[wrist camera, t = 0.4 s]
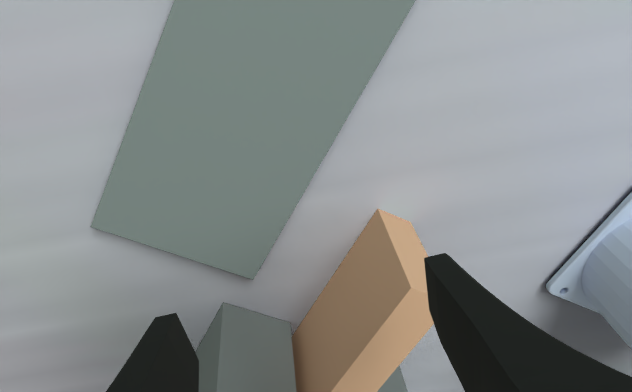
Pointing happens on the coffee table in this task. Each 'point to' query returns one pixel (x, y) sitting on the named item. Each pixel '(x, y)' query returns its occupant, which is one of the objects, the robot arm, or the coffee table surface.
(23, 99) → the coffee table surface
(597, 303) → the robot arm
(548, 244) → the coffee table surface
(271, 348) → the dispenser
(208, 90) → the slate mat
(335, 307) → the tall tan wooden post
